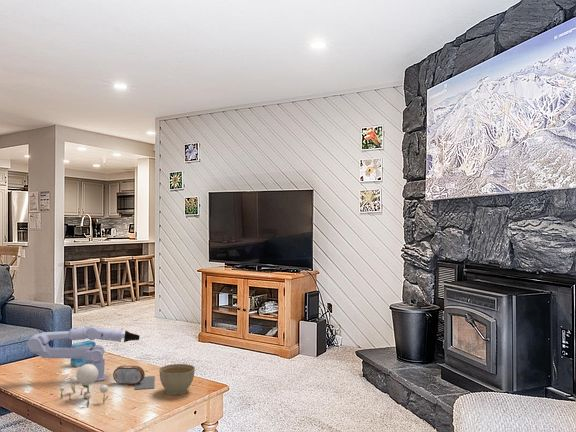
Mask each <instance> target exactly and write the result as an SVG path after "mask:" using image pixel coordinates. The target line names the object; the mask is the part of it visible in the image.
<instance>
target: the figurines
mask: <svg viewBox="0 0 576 432" xmlns="http://www.w3.org/2000/svg"><path fill="white" fill-rule="evenodd" d="M75 374H76V376H72V377H71V378H70V379H69V380H70V383H71V390H72V392H73V394H76V388H75V386H74V385H76V384H77V383H79V384H80V385H81V386H82V387H79V389H80V394H79V395H80V396H82V395H83V399H85V400H87V403H86V404H87V405H86V407H87V408H89V407H90V398H91V397H92V395H91V392H90V388H89V387H90V385H92V384H94V383H95V382H97V381H96V379H97V377H98V369H97V368H96V367H95V366H94V365H92V364H85V365H83V366H80V367H78V370H77V372H76V373H75ZM65 389H66V388H65V387H64V386H61V387H60V388H59V390H60V391H61V393H60V398H61V399H63V397H64V396H63V392H64V391H65ZM83 389H86V390H87V391H84V390H83ZM83 391H84V392H83ZM99 391H100V393H102V394H103V398H102V403H103V404H104V403H105V401H106V400H107V399H108V397H109V395H107V396H106V397H105V393H107V392H108V391H109V387H108V385H107V384H102V385H101V386H100V387H99ZM71 397H72V396H71V392H69V393H68V402H71V401H72V400H71Z"/></svg>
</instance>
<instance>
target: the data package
mask: <svg viewBox="0 0 576 432" xmlns="http://www.w3.org/2000/svg"><path fill="white" fill-rule="evenodd" d="M93 346H96V342H95V341H94V340H84V341H81V342H79V341H78V342H75V343H73V344H71V346H70V348H87V347H93ZM86 361H89V360H85V359H81V358H70V365H71V366H72V367H75V368H80V367H81V366H83V365H84V364H85V362H86Z"/></svg>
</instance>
